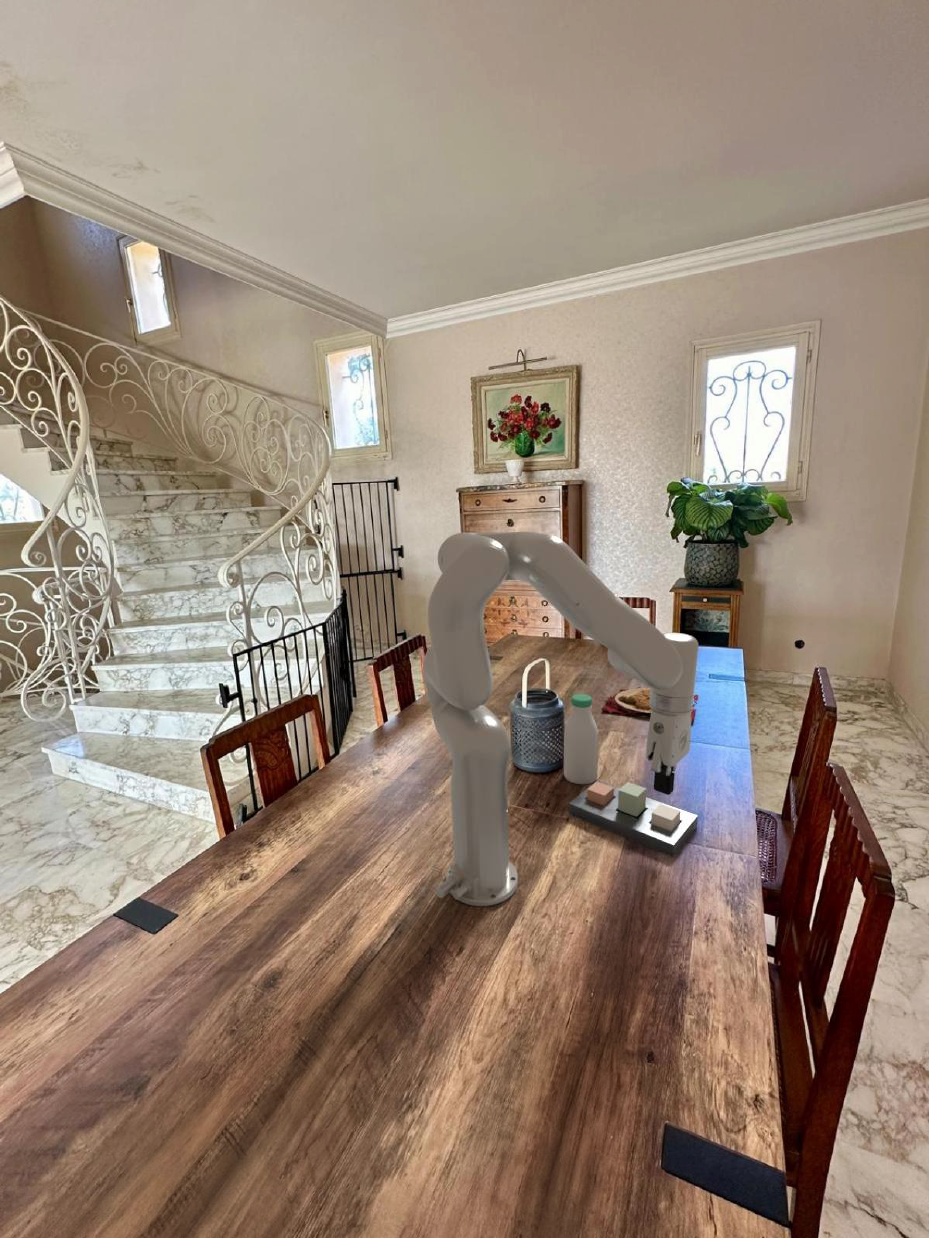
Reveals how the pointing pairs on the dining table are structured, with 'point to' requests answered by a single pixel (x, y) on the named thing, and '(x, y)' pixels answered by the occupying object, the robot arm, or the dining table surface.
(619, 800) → the sage key
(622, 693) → the plate with food
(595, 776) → the milk bottle
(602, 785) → the terracotta key
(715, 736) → the dining table surface
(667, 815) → the ivory key
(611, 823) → the panel
